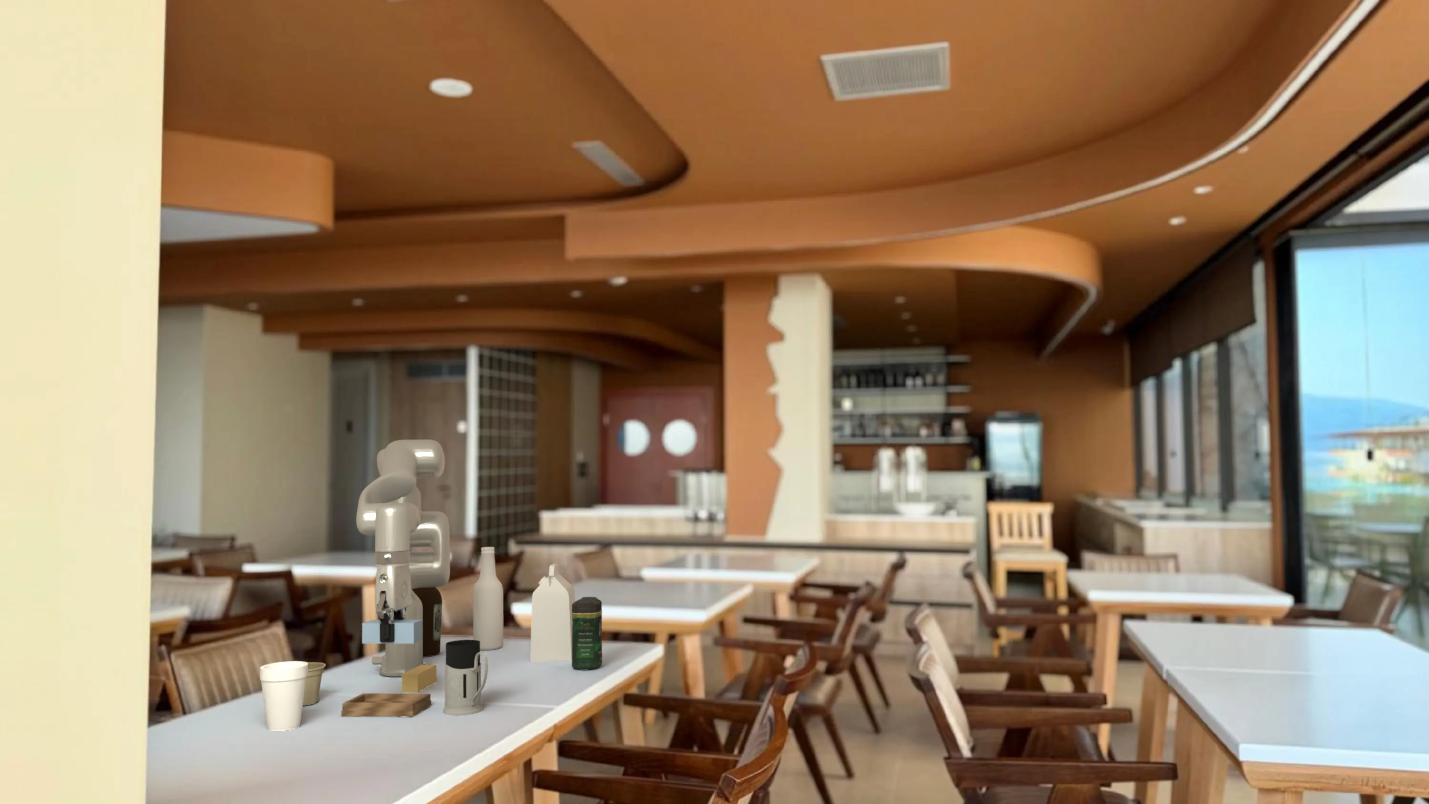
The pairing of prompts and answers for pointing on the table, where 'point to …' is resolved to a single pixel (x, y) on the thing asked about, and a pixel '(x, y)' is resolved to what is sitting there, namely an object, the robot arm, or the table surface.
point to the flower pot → (313, 682)
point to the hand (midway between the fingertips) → (392, 638)
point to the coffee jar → (587, 633)
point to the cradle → (386, 704)
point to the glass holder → (463, 677)
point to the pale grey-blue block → (402, 632)
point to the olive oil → (430, 619)
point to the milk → (552, 618)
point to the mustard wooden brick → (419, 678)
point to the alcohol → (488, 604)
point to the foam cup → (283, 693)
